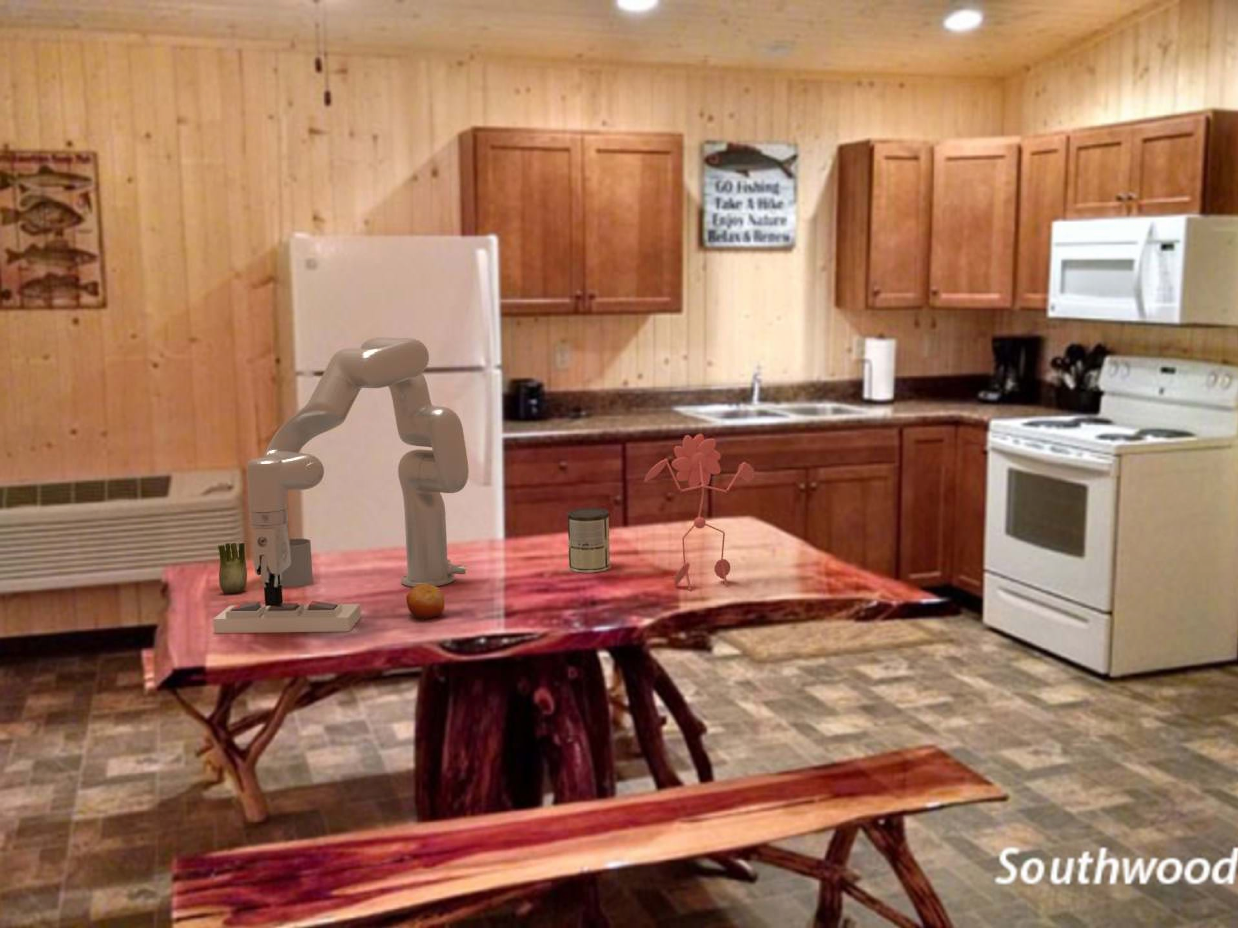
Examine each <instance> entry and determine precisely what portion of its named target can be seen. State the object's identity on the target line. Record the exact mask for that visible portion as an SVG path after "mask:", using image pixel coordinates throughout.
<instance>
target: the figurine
mask: <svg viewBox="0 0 1238 928" xmlns="http://www.w3.org/2000/svg"><path fill="white" fill-rule="evenodd" d="M683 437H684V438H683V441H682V446H680V445H676V446H675V447H674V451H673V452H674V455H675V457H676V459H673V461H672V462H671V465H670V463H669V459H668V458H664V459H663V460H660V461H659V462H658V463H656V464H655V465H654V466H652V468H651V469H650V470H649V471H648V472H647V474H646V475H645V478H644V480H643V481H644V483H646V482H648V481H650V480H652V479H654V478H655V477H656V476H657V475H658V474H659V473H661V472H662V470H663V469H664V468H665V466H667V468H668V470H669V472H670V474H671V476H672V478H673V482H675V485H676V487H677V489H678V491H679V493H683V492H687V491H692V490H696V489H701V497H700V498H701V499H700V503H699V505H700V506H699V511H698V515H697V517H696V518H695V519H694V520H693V525H692V526H691V527H690V528H689V529H688V530H687V531H686V533H685V534H684V535H683V537H682V555H683V556H682V557H683V558H682V559H683V565H682V566H681V567H680V569H679V570H678V571H677V573H676V574H675V575H673V576H668V577H662V578H660V579H659V580H656V582H654V584H656V583H658V582H660V581H662V580H665V579H670V578H674V582H673V583H674V586H678V584H679V583H680V582H681V581H682V580H683V579H684V578H685V577H686V581H687V588H688V591H689V592H690V591H691V592H692V585H691V581H690V576H691V575H693V573H689V569H690V566H691V565H690V563H689V562H686V552H685V538H686V537H687V536H688V534H689V533H690V532H691V531H692V530H693V528H694V527H695V528H696V529H703V528H705V527H706V526H707V527H709V528H711V529H713V530H715V531H718V532H720V533H722V544H721V557H720V558H721V559H719V560H717V561H716V563H715V565H714V567H713V568H714V570H713V571H714V573H715V575H716V576H717V577H719V578H720V579H721V580H723V581H724V585H725V587H729V584H728V580H727V576H728V575H729V574H730V571H731V564H730V562H729V561H728V560H727V559H724V547H725V536H726V533H725V531H723V530H721V529H720V528H716V527H714V526H712V525H710V524H708V523H707V521H706V520H705V518H704V517H703V516H701V514H702V509H703V504H704V498H705V489H710V490H713V491H717V492H722V493H726V494H727V493H728V492H729V491H730V490H731V488H732V486H733V485H734V483H735V481H736V480H737V478H738V477H740V478H741V479H742V480H744V482H747V483H750V482H751V481H752V480H753V479H754V477H755V470H754V467H752V466H751V464H750V463H747V462H746V461H743V462H742V463H740V464H739V465H738V468H737V472H736V474H735V476H734V477H733V478H732V480H731V482H730V483H729V485H728V486H727V488H726V489H722V488H718V487H715V486H713V487H712V486H709V484H710V482H711V481H710V480H711V476H712V475H719V474H720V473H721V470H722V468H721V465H720V463H719V462H718V461H719V460H720V459H721V457H722V456H721V453H720V452H718V451H717V450H715V448H716V444H717V439H714V438H713V437H712V438H711V437H710V438H707V439H705V438H704V434H702V433H699V434H696V435H695V436H694V438H692V436H691V435H689V434H687V435H684V436H683ZM671 466H672V467H673V469H675V470H676V471H678V472H677V473H676V475H675V473H674V471H673V469H672V467H671ZM678 481H679V482H685V481H688V482H687V483H688V487H687V488H683V489H682V488H681V485H680V484H679V482H678ZM700 483H701V485H699V484H700ZM706 574H707V573H702V575H706ZM750 584H752V582H750Z"/></svg>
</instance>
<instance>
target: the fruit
mask: <svg viewBox="0 0 1238 928" xmlns="http://www.w3.org/2000/svg"><path fill="white" fill-rule="evenodd" d="M405 598H406V599H405V600H406V605H407V608H408V611H409V612H410V616H411V615H412V616H413V617H415V618H417V619H419V620H421V621H423V620H422V619H425V620H427V619H432V618H435V617H438V616H440V615H441V614H442V613H443V612H444V611H445V610H444V609H445V594H444V592H443V591H442V590H440V588H439V586H432V585H429V584H427V583H424V584H419V585H417V586H415V587H411V589H410V590H409V591H408V593H407V594H406V597H405Z"/></svg>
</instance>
